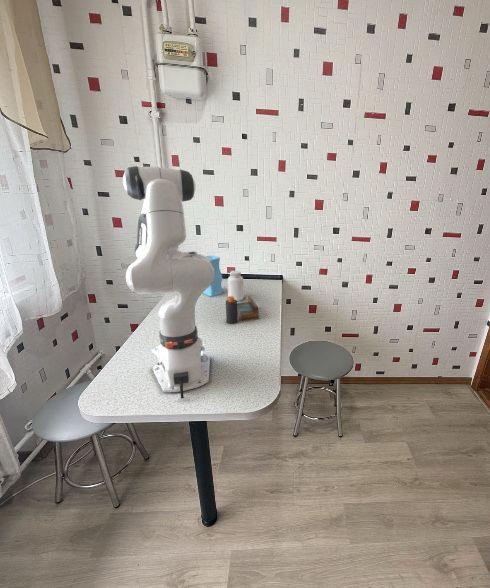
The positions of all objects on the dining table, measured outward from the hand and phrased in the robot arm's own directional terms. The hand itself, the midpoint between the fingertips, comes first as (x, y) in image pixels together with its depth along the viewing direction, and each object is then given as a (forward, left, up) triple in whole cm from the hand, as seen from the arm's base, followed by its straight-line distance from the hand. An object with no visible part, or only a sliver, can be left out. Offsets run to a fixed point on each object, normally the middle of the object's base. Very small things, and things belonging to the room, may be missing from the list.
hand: (206, 274), depth 147 cm
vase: (+29, -6, -21) cm, 36 cm away
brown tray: (-3, -16, -21) cm, 27 cm away
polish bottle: (-9, -8, -21) cm, 24 cm away
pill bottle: (+17, -16, -21) cm, 32 cm away
